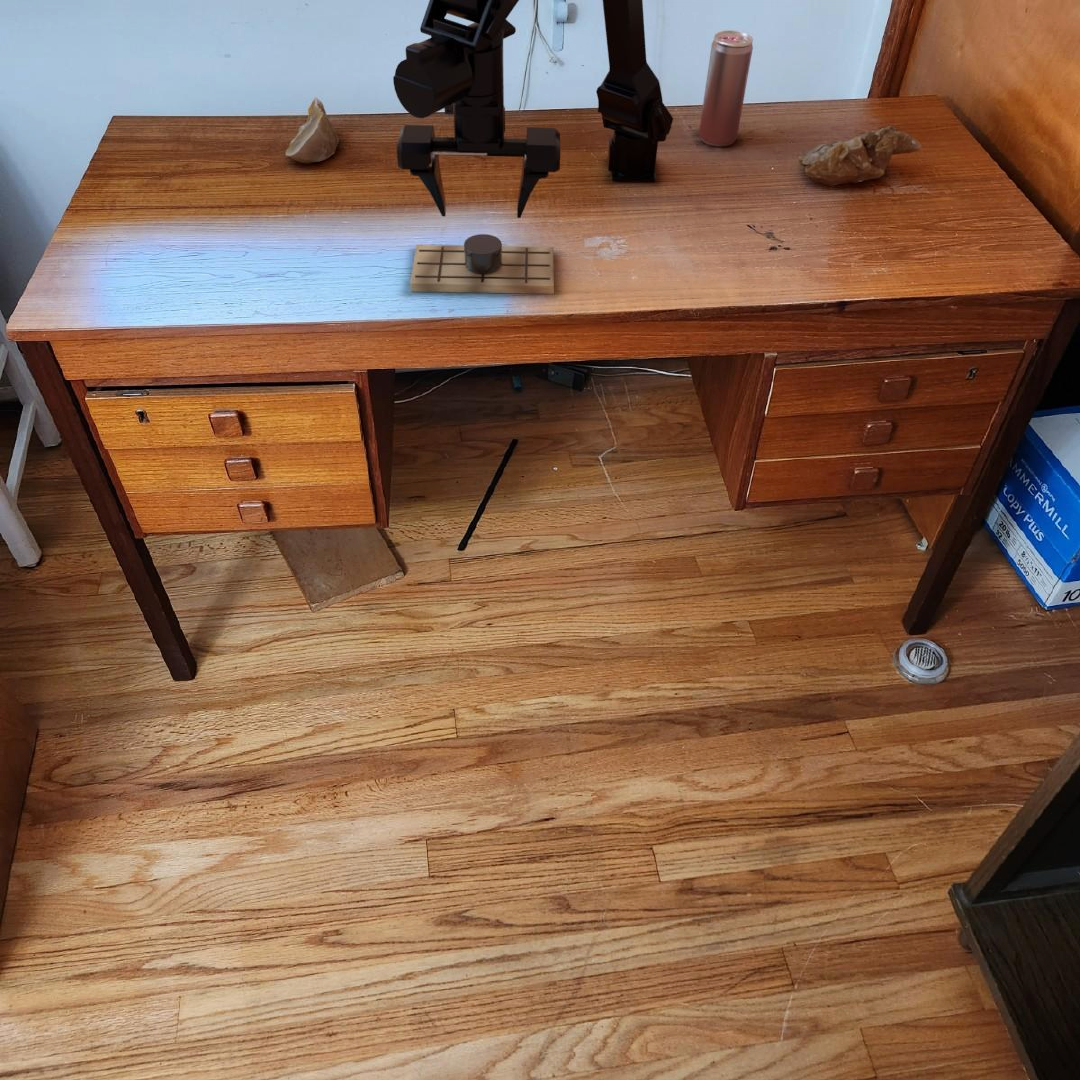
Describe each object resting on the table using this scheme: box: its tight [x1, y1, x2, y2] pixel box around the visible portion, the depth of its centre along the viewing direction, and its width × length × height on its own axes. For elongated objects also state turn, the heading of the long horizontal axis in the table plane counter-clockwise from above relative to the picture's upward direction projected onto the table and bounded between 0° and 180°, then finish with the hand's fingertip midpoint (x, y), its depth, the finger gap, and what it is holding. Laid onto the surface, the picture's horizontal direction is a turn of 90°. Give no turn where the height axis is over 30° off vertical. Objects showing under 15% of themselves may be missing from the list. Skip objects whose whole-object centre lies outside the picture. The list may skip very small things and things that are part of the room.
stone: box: [285, 97, 339, 164], centre depth 144 cm, size 7×6×15 cm
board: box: [409, 244, 555, 295], centre depth 123 cm, size 18×9×1 cm, turn 90°
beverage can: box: [698, 30, 754, 148], centre depth 144 cm, size 6×6×15 cm
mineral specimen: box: [797, 125, 922, 187], centre depth 141 cm, size 13×7×15 cm
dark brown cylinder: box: [463, 233, 503, 274], centre depth 122 cm, size 5×5×3 cm
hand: (481, 215), depth 118 cm, fingers open, 9 cm apart
